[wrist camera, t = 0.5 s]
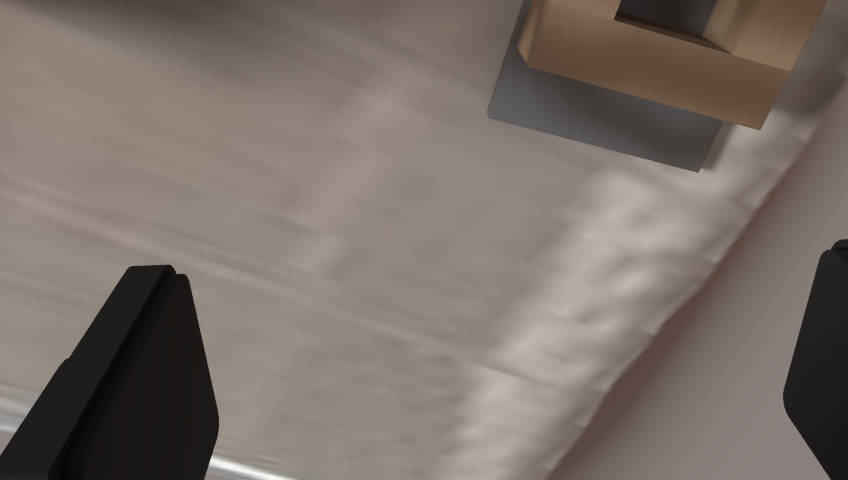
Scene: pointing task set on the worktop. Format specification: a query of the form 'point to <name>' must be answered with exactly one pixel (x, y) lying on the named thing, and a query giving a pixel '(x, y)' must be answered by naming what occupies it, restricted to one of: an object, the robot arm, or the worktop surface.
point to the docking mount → (649, 70)
